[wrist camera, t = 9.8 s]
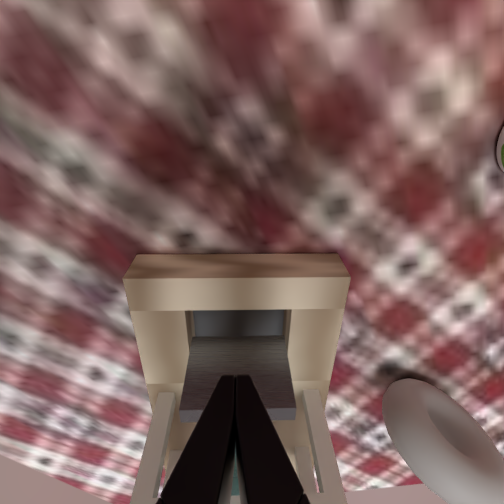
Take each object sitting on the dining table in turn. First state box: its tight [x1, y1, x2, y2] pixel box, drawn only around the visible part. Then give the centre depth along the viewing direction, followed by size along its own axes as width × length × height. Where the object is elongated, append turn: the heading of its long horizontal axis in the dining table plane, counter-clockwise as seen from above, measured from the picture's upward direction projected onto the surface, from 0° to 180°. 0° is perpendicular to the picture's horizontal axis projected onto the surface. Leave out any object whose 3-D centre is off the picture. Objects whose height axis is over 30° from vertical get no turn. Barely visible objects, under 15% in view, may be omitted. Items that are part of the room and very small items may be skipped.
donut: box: [382, 378, 504, 504], centre depth 25 cm, size 10×3×10 cm, turn 62°
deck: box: [123, 253, 351, 474], centre depth 28 cm, size 14×29×3 cm, turn 179°
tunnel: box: [130, 389, 347, 504], centre depth 23 cm, size 12×9×8 cm
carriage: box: [179, 335, 297, 496], centre depth 25 cm, size 8×25×6 cm, turn 179°
